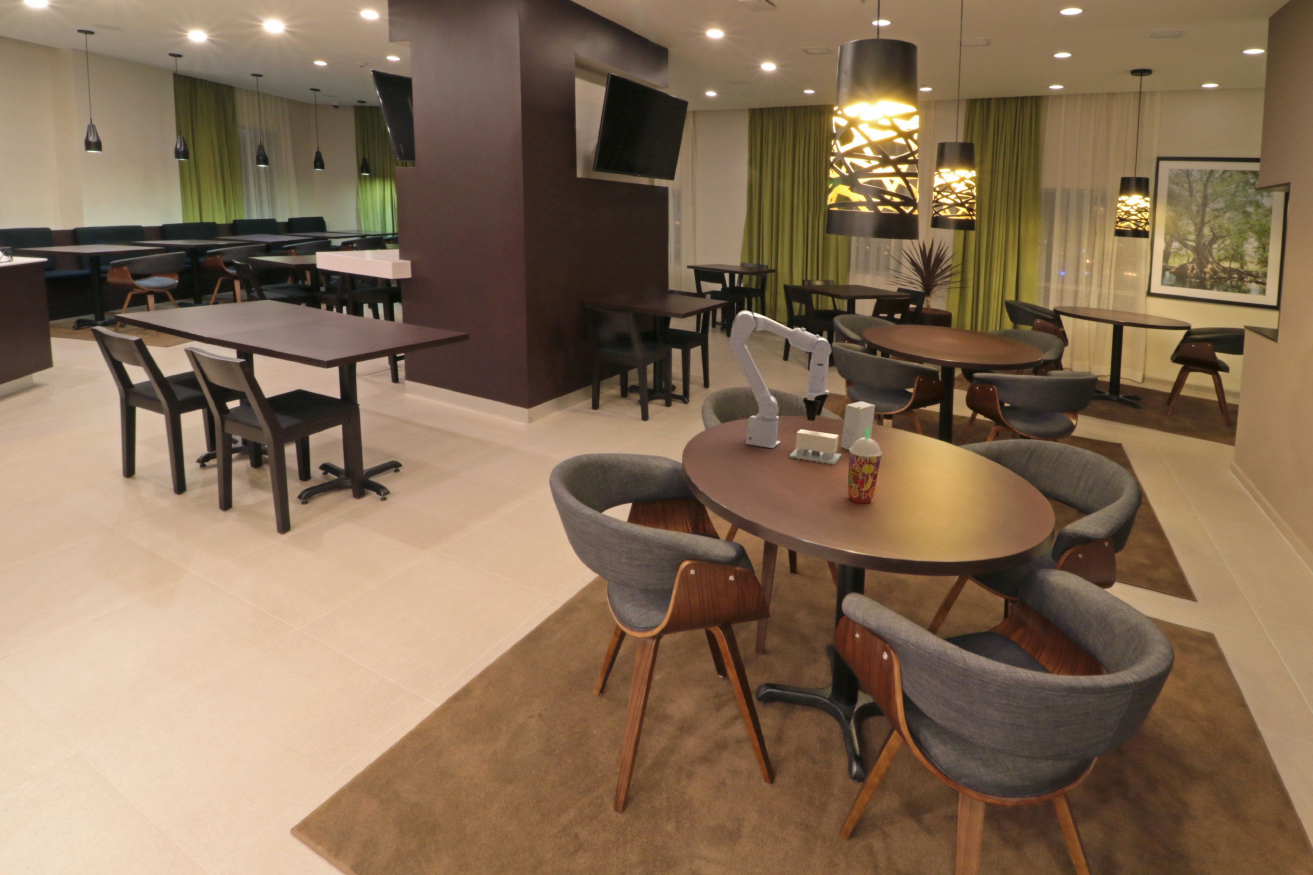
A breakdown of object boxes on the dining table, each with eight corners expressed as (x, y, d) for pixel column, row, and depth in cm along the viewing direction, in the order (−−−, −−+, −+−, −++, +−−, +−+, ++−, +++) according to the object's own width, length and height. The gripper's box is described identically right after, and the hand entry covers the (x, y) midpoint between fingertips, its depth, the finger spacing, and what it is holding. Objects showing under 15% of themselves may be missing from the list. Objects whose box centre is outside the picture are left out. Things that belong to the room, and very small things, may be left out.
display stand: (789, 457, 245) (789, 449, 245) (797, 449, 254) (798, 441, 253) (833, 465, 240) (834, 457, 239) (841, 456, 249) (842, 448, 248)
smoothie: (839, 494, 216) (847, 423, 210) (869, 494, 216) (878, 424, 211) (849, 505, 208) (858, 432, 202) (880, 505, 208) (889, 432, 203)
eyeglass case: (795, 447, 247) (796, 432, 245) (799, 444, 251) (800, 429, 249) (833, 454, 242) (835, 438, 241) (837, 450, 246) (838, 435, 244)
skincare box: (856, 443, 263) (861, 400, 259) (871, 448, 259) (876, 404, 254) (840, 447, 258) (844, 403, 254) (855, 452, 253) (860, 407, 249)
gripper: (825, 382, 243) (820, 424, 247) (835, 374, 255) (831, 414, 259) (802, 379, 246) (798, 421, 249) (814, 371, 258) (810, 411, 262)
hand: (813, 417), depth 255 cm, fingers open, 7 cm apart
